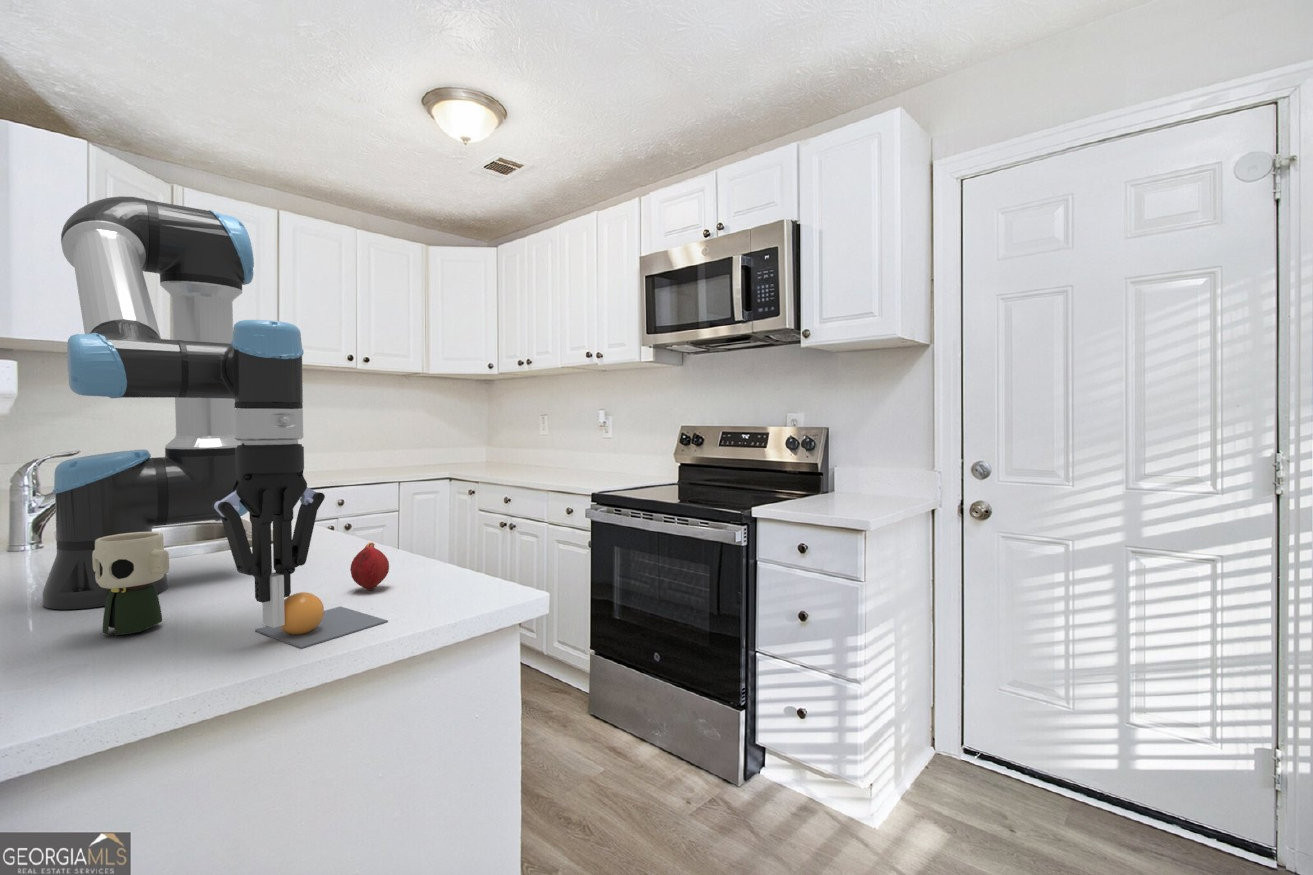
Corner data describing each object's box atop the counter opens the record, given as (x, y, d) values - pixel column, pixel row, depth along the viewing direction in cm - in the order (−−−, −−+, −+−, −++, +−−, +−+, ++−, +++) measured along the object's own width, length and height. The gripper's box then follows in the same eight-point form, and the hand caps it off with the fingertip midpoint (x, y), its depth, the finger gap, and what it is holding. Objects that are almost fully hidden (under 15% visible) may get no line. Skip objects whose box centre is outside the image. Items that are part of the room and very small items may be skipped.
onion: (374, 596, 101) (373, 547, 101) (343, 594, 102) (341, 545, 102) (396, 586, 107) (395, 539, 106) (366, 584, 108) (365, 538, 107)
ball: (272, 590, 83) (315, 586, 88) (266, 631, 83) (309, 626, 87) (291, 599, 80) (334, 595, 84) (284, 642, 80) (328, 636, 84)
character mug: (70, 639, 82) (66, 541, 81) (121, 621, 89) (118, 530, 89) (146, 641, 81) (142, 542, 80) (192, 623, 88) (189, 531, 87)
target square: (254, 630, 85) (254, 629, 85) (340, 607, 95) (340, 606, 95) (301, 648, 78) (301, 647, 78) (387, 621, 88) (387, 620, 88)
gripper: (226, 444, 73) (231, 645, 73) (335, 441, 84) (338, 616, 84) (199, 443, 77) (203, 633, 78) (306, 440, 88) (309, 607, 88)
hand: (273, 624), depth 81 cm, fingers closed
